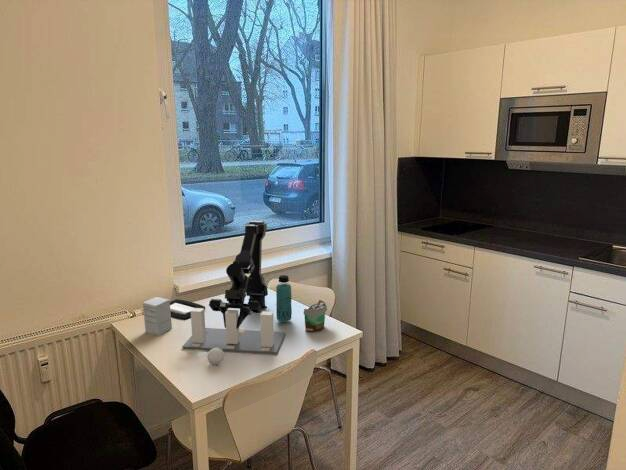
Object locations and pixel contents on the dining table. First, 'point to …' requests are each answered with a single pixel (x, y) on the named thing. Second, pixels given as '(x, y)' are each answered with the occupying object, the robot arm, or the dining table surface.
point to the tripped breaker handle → (232, 327)
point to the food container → (315, 317)
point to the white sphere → (215, 356)
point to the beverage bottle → (283, 299)
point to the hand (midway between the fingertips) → (231, 328)
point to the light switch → (182, 309)
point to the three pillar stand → (249, 339)
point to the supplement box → (157, 315)
